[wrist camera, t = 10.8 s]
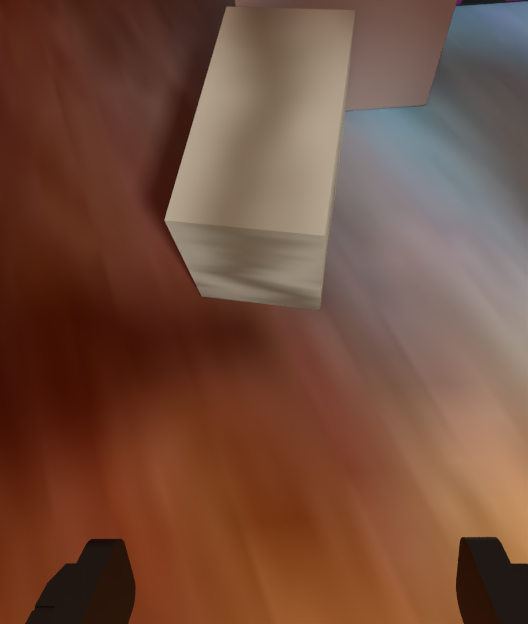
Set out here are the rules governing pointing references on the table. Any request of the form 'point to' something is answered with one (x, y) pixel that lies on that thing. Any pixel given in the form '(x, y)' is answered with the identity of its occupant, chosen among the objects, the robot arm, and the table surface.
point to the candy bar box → (482, 1)
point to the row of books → (387, 47)
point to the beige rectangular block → (265, 156)
